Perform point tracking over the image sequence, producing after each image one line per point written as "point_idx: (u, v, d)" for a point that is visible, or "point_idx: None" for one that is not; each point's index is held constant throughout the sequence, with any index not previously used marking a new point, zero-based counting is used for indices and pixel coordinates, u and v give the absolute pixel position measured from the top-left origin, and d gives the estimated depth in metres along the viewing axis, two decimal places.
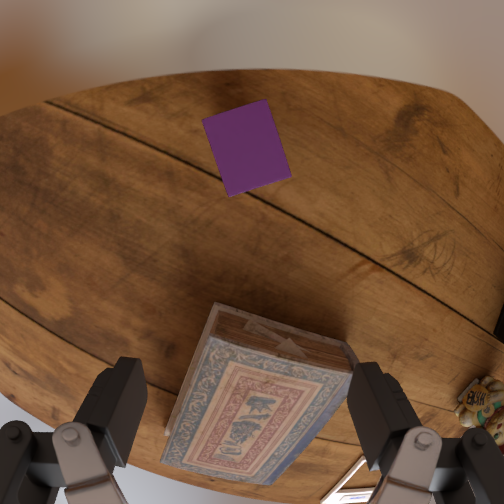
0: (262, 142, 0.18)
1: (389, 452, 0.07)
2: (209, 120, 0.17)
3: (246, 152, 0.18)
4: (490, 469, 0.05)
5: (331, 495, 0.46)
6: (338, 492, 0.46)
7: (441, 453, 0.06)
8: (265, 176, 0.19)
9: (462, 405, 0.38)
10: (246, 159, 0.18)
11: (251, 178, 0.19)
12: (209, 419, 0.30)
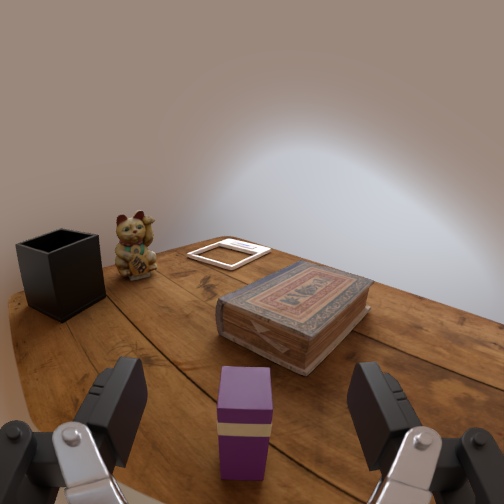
0: (233, 386, 0.23)
1: (389, 452, 0.07)
2: (266, 407, 0.21)
3: (247, 384, 0.23)
4: (490, 469, 0.05)
5: (261, 251, 0.85)
6: (256, 252, 0.85)
7: (441, 453, 0.06)
8: (239, 370, 0.25)
9: (149, 267, 0.68)
10: (248, 381, 0.24)
11: (249, 371, 0.25)
12: (328, 298, 0.47)
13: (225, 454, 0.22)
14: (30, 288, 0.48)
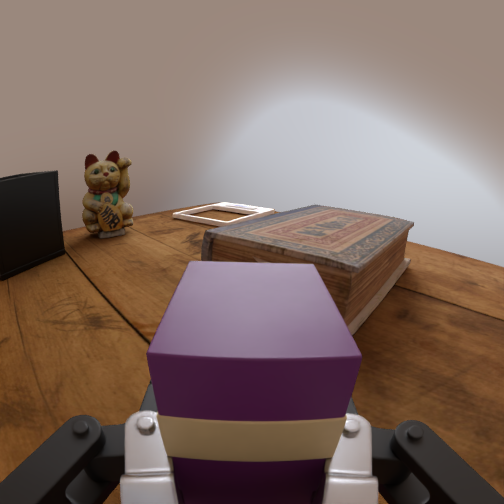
0: (214, 296, 0.08)
1: None
2: (338, 351, 0.06)
3: (258, 292, 0.08)
4: (436, 460, 0.06)
5: (263, 211, 0.70)
6: (256, 212, 0.70)
7: (373, 443, 0.07)
8: (235, 267, 0.10)
9: (124, 222, 0.53)
10: (262, 285, 0.08)
11: (263, 269, 0.09)
12: (364, 232, 0.32)
13: (199, 502, 0.07)
14: None
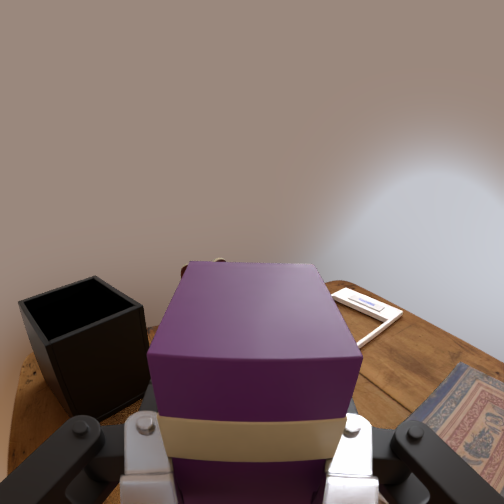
0: (214, 296, 0.08)
1: None
2: (339, 351, 0.06)
3: (258, 292, 0.08)
4: (436, 460, 0.06)
5: (391, 318, 0.54)
6: (384, 318, 0.55)
7: (374, 443, 0.07)
8: (236, 267, 0.10)
9: None
10: (263, 286, 0.08)
11: (263, 269, 0.09)
12: None
13: (200, 503, 0.07)
14: (41, 366, 0.32)
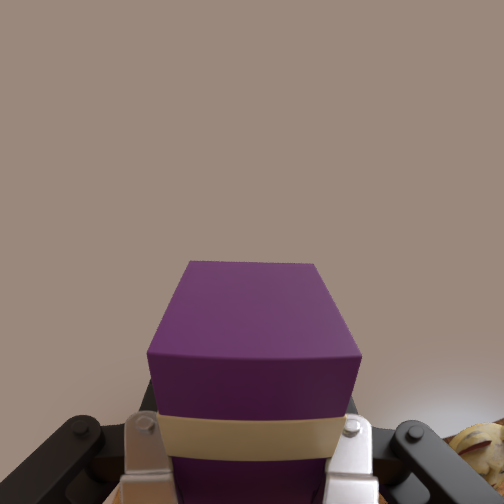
0: (214, 296, 0.08)
1: None
2: (338, 350, 0.06)
3: (258, 291, 0.08)
4: (436, 460, 0.06)
5: None
6: None
7: (374, 443, 0.07)
8: (236, 267, 0.10)
9: None
10: (262, 285, 0.08)
11: (263, 269, 0.10)
12: None
13: (200, 502, 0.07)
14: None
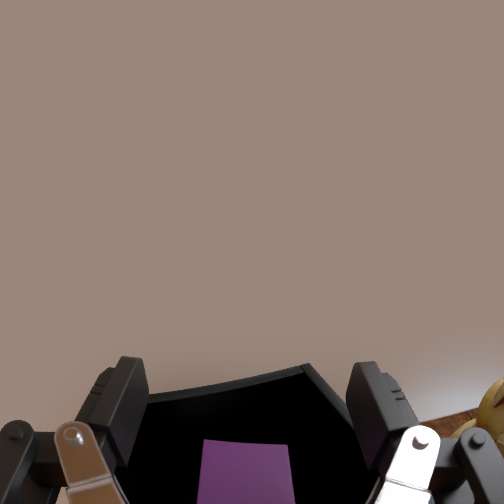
0: (223, 483, 0.11)
1: (387, 451, 0.07)
2: None
3: (249, 479, 0.11)
4: (489, 469, 0.05)
5: None
6: None
7: (439, 452, 0.06)
8: (235, 449, 0.12)
9: None
10: (252, 472, 0.11)
11: (253, 453, 0.12)
12: None
13: None
14: None
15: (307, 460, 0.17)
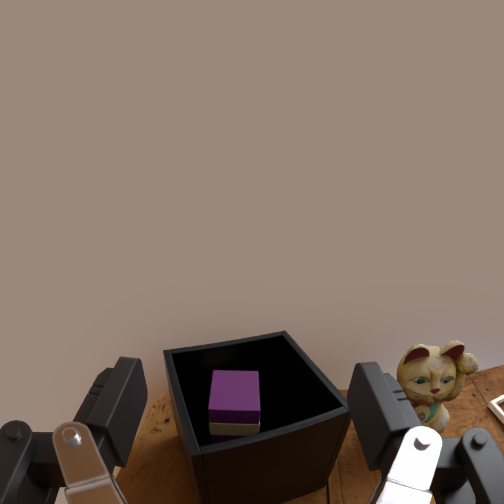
0: (223, 388, 0.24)
1: (389, 452, 0.07)
2: (254, 408, 0.22)
3: (236, 386, 0.25)
4: (490, 469, 0.05)
5: None
6: None
7: (441, 453, 0.06)
8: (229, 373, 0.26)
9: None
10: (238, 383, 0.25)
11: (239, 375, 0.26)
12: None
13: None
14: (178, 430, 0.27)
15: (286, 394, 0.31)
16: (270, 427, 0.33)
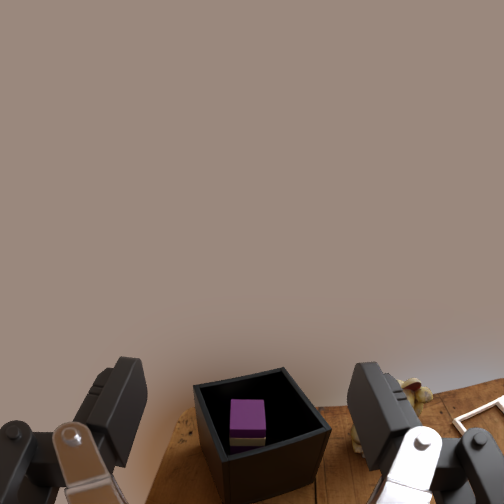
0: (239, 413, 0.33)
1: (389, 452, 0.07)
2: (262, 428, 0.31)
3: (248, 412, 0.34)
4: (490, 469, 0.05)
5: None
6: None
7: (441, 453, 0.06)
8: (243, 402, 0.35)
9: None
10: (249, 409, 0.34)
11: (250, 403, 0.35)
12: None
13: None
14: (203, 442, 0.36)
15: (284, 413, 0.40)
16: (272, 437, 0.41)
